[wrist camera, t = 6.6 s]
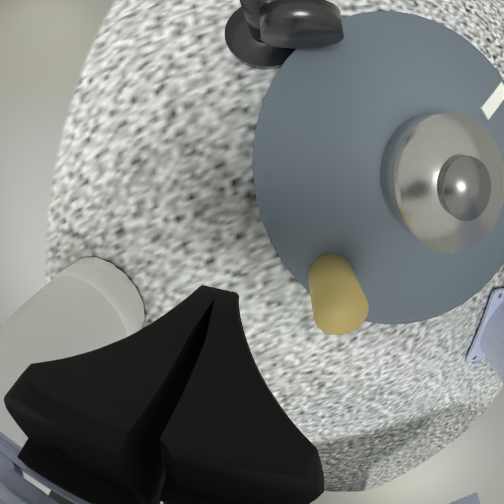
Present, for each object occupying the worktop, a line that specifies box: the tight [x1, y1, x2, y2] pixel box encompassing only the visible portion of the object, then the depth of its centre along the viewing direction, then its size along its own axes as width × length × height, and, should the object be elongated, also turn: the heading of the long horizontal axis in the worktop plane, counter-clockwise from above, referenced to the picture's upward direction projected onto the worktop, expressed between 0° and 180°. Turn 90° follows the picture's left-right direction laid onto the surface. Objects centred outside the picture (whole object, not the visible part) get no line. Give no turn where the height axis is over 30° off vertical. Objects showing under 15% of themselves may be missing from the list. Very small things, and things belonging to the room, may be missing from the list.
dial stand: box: [225, 0, 344, 69], centre depth 9 cm, size 5×4×7 cm
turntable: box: [253, 11, 504, 335], centre depth 11 cm, size 18×18×5 cm
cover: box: [380, 113, 504, 254], centre depth 11 cm, size 6×6×3 cm
